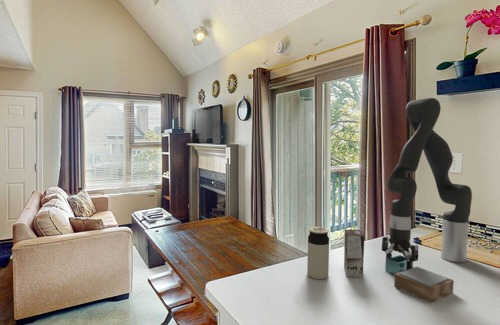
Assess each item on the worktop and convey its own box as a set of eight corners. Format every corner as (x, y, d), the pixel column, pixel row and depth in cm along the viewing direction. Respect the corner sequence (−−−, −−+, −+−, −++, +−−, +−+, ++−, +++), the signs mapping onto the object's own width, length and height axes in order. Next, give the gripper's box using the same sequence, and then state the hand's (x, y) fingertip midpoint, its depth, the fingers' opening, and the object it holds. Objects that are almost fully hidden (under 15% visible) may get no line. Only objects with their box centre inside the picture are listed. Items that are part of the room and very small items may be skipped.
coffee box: (363, 278, 116) (364, 236, 115) (346, 276, 117) (347, 235, 116) (360, 268, 125) (361, 229, 124) (343, 267, 126) (344, 228, 125)
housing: (399, 266, 127) (399, 254, 127) (412, 271, 122) (412, 259, 122) (385, 271, 123) (385, 258, 122) (397, 276, 118) (398, 263, 117)
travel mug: (332, 274, 118) (333, 229, 117) (321, 281, 113) (322, 233, 111) (314, 269, 124) (315, 225, 123) (303, 275, 118) (304, 229, 117)
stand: (416, 278, 116) (416, 265, 115) (452, 292, 104) (453, 278, 104) (394, 286, 109) (394, 272, 109) (431, 302, 98) (431, 287, 98)
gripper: (423, 229, 117) (421, 271, 118) (390, 221, 129) (388, 258, 130) (411, 232, 113) (409, 275, 114) (378, 223, 125) (377, 262, 126)
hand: (398, 266), depth 122 cm, fingers open, 8 cm apart
